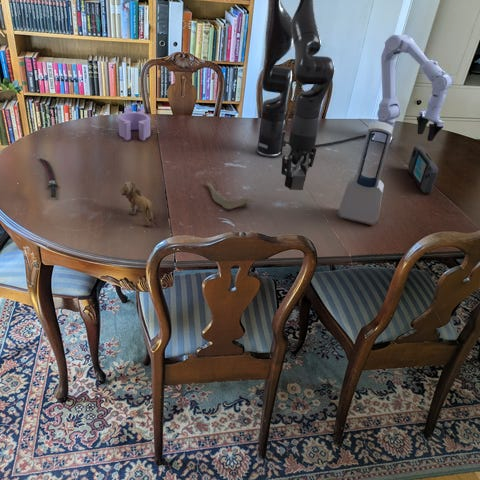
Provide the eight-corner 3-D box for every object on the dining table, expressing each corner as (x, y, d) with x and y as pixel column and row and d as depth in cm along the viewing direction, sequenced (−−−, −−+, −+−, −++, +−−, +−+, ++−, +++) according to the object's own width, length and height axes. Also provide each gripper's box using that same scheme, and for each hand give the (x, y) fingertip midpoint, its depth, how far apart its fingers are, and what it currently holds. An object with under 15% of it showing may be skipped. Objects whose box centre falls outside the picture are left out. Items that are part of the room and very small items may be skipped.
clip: (120, 122, 199) (119, 106, 195) (149, 123, 202) (149, 107, 198) (118, 140, 183) (117, 123, 179) (151, 140, 185) (150, 123, 181)
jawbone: (235, 216, 142) (236, 211, 141) (188, 193, 152) (187, 188, 151) (254, 205, 147) (254, 199, 146) (207, 183, 158) (207, 178, 157)
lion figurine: (118, 210, 138) (116, 182, 133) (132, 204, 141) (131, 177, 137) (151, 229, 130) (150, 201, 126) (165, 223, 134) (165, 195, 129)
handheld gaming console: (406, 168, 186) (413, 144, 180) (412, 169, 186) (420, 145, 180) (423, 194, 166) (432, 168, 161) (430, 195, 166) (439, 169, 161)
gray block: (299, 183, 143) (302, 169, 141) (302, 190, 139) (305, 175, 137) (286, 182, 143) (288, 168, 140) (289, 189, 139) (291, 175, 136)
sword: (61, 197, 141) (61, 193, 140) (50, 198, 139) (50, 194, 139) (49, 160, 164) (48, 156, 163) (39, 160, 163) (39, 157, 162)
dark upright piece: (301, 132, 210) (312, 62, 194) (282, 129, 211) (292, 60, 195) (302, 125, 218) (314, 58, 201) (285, 123, 219) (294, 56, 202)
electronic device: (378, 217, 149) (404, 126, 133) (375, 228, 143) (403, 134, 127) (339, 207, 152) (360, 117, 136) (335, 218, 146) (357, 125, 130)
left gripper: (307, 122, 138) (298, 173, 147) (277, 131, 129) (270, 186, 138) (328, 129, 134) (318, 182, 143) (299, 139, 125) (290, 195, 134)
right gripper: (416, 99, 195) (407, 131, 202) (436, 110, 183) (426, 143, 191) (431, 100, 197) (421, 131, 204) (452, 111, 185) (440, 143, 192)
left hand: (294, 183), depth 141 cm, fingers closed on gray block, 6 cm apart
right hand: (424, 137), depth 197 cm, fingers open, 7 cm apart
